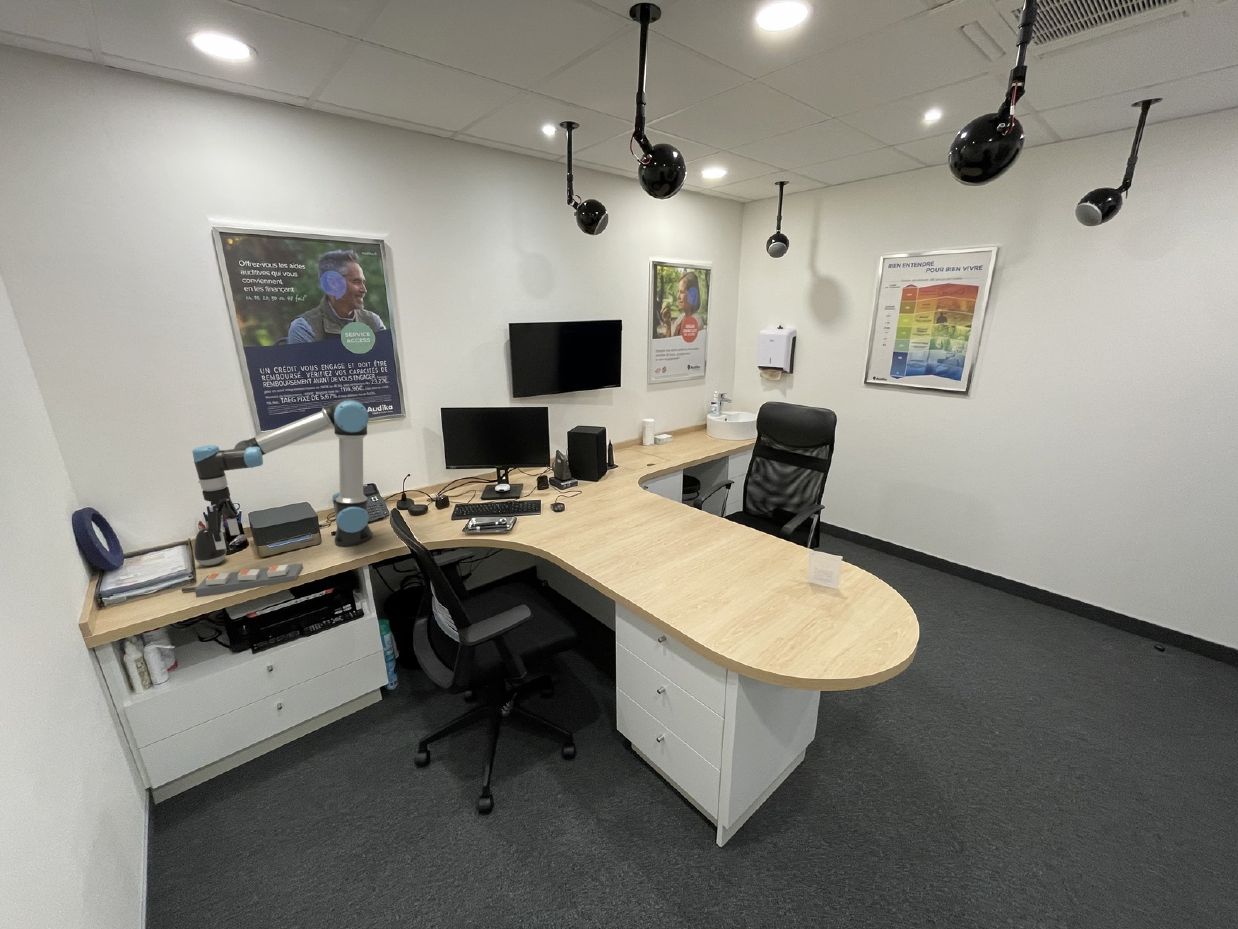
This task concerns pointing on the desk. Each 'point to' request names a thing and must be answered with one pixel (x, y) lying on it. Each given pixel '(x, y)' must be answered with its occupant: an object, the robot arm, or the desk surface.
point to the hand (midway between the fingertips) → (228, 541)
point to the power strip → (245, 582)
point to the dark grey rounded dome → (207, 549)
